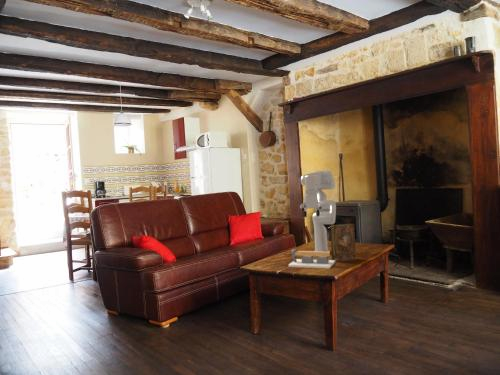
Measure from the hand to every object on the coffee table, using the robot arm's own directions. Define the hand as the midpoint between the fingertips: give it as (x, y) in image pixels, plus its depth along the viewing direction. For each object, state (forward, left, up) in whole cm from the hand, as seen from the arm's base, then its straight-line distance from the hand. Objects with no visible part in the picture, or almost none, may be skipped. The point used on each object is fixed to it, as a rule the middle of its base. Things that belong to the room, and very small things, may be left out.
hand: (311, 216), depth 292 cm
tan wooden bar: (+11, +1, -26) cm, 29 cm away
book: (-6, +20, -32) cm, 38 cm away
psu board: (+11, +1, -32) cm, 34 cm away
